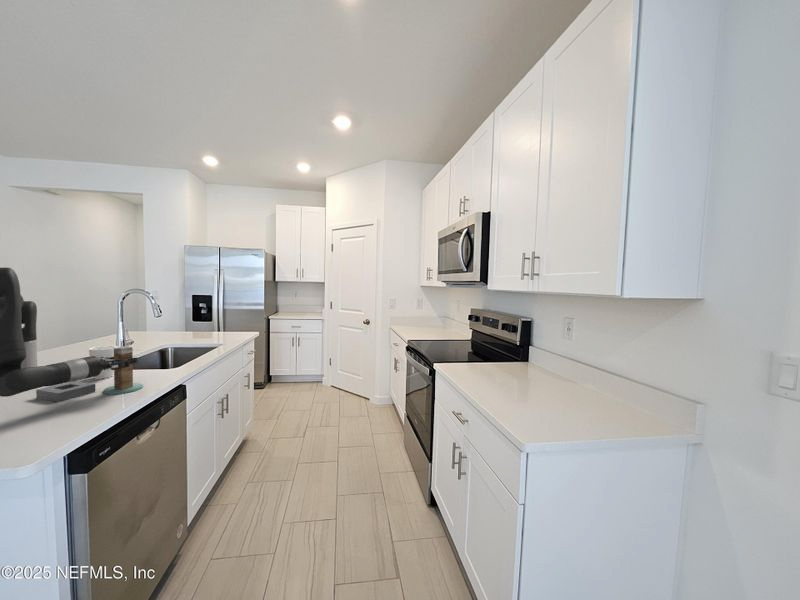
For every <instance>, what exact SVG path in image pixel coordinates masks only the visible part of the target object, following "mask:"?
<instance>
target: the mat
mask: <svg viewBox="0 0 800 600" xmlns="http://www.w3.org/2000/svg"><path fill="white" fill-rule="evenodd" d="M142 387H143V388H144V384H143V383H139V382H133V387H130V388H127V389H123V390H119V389H114V385H111V386H109V387H106V388H104V389H103V391H102V392H103V394H104V393H106V394H105V395H120V394H119V393H123V394H128V392H129V393H133V392H136V390H137V391H140V390H141V389H143V388H142ZM132 391H133V392H132Z"/></svg>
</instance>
